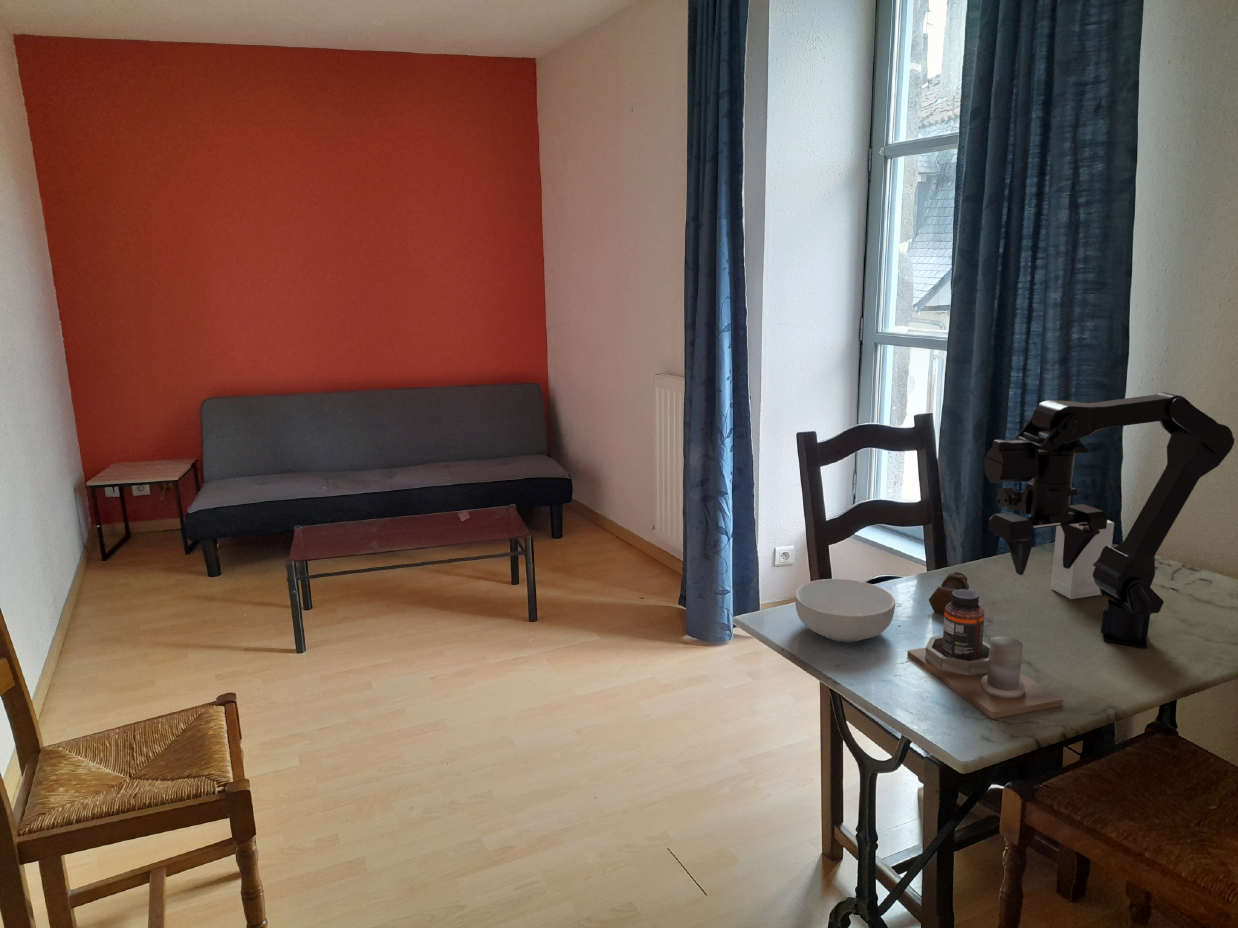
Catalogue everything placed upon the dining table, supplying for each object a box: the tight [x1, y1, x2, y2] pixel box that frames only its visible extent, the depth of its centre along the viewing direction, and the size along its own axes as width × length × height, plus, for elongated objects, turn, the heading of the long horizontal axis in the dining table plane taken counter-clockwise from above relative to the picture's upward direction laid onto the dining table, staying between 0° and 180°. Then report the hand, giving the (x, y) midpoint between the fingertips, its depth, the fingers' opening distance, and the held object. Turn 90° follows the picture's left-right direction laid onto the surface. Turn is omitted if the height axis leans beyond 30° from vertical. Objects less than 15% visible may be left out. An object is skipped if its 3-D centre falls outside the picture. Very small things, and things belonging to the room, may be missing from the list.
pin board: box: [906, 634, 1064, 720], centre depth 135 cm, size 21×12×8 cm, turn 15°
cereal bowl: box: [794, 578, 896, 643], centre depth 153 cm, size 17×17×7 cm
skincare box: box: [1050, 519, 1115, 600], centre depth 167 cm, size 8×6×15 cm
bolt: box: [928, 571, 970, 616], centre depth 166 cm, size 6×5×15 cm
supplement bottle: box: [942, 589, 985, 661], centre depth 139 cm, size 6×6×11 cm
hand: (1043, 571), depth 145 cm, fingers open, 9 cm apart
